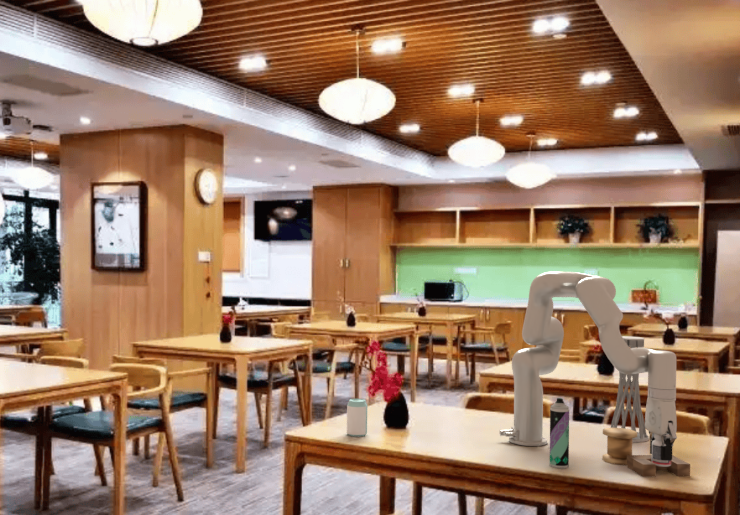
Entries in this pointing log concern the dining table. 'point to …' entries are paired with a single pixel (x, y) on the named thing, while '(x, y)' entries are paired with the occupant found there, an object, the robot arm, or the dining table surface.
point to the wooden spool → (618, 445)
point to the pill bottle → (659, 452)
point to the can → (357, 417)
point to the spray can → (559, 434)
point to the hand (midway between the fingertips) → (660, 456)
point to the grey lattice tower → (635, 394)
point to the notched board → (648, 469)
